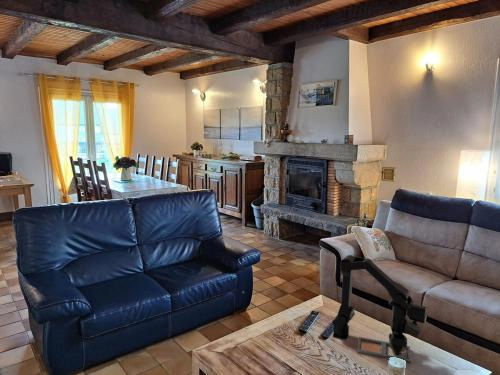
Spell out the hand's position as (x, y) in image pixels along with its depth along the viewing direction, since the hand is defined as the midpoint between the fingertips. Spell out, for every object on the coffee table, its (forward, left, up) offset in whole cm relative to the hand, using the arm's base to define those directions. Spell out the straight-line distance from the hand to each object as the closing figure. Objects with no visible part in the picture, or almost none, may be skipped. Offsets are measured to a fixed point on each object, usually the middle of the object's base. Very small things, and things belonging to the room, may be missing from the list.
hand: (397, 348), depth 156 cm
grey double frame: (-5, 0, -2) cm, 6 cm away
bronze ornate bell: (0, 0, -2) cm, 2 cm away
